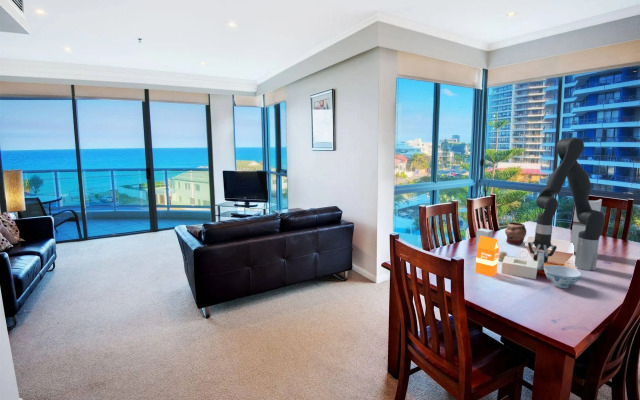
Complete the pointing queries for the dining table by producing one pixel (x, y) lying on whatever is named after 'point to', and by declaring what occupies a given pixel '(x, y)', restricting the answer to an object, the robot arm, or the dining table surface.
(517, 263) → the hole block
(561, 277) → the chinaware
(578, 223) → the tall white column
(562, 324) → the dining table surface
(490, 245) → the orange juice
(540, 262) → the long pin
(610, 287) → the dining table surface
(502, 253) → the short pin
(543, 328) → the dining table surface
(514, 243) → the decorative planter
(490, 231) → the skincare box
